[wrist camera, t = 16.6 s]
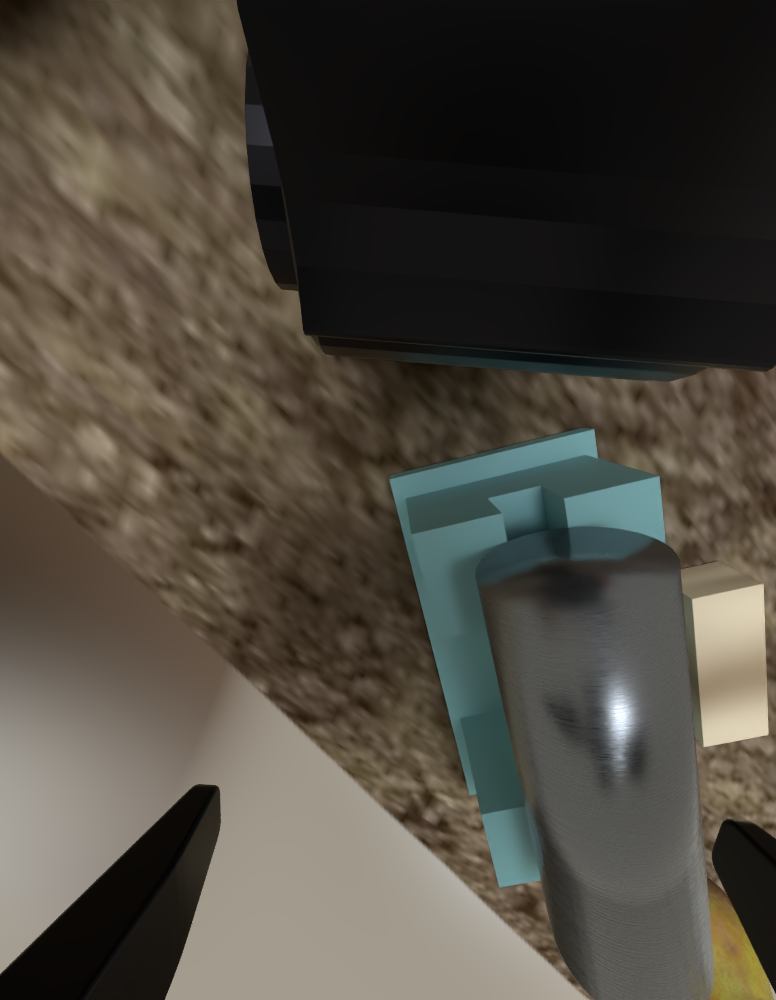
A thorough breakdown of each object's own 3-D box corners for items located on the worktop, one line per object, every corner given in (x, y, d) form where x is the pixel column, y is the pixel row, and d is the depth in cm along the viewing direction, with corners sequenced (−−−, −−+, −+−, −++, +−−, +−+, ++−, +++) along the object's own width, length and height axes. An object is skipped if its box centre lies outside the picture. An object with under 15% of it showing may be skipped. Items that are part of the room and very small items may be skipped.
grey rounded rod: (458, 551, 14) (506, 634, 9) (606, 515, 13) (738, 578, 9) (528, 861, 17) (590, 1047, 12) (647, 834, 17) (759, 1010, 12)
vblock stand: (389, 475, 19) (388, 509, 13) (583, 427, 18) (672, 441, 13) (466, 778, 23) (492, 906, 17) (626, 747, 23) (708, 868, 17)
